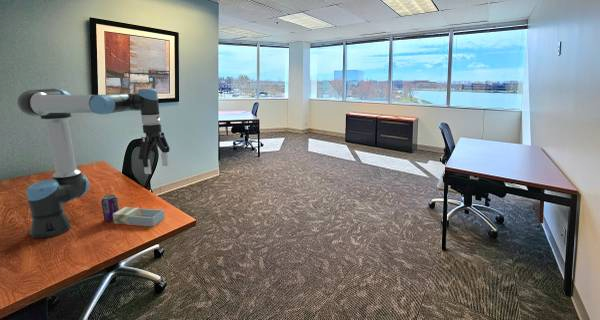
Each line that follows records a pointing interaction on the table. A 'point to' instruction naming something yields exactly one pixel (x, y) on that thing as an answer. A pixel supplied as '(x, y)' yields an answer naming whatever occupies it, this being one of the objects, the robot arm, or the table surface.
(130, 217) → the cradle tray
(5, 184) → the table surface
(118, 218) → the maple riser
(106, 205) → the beverage can
